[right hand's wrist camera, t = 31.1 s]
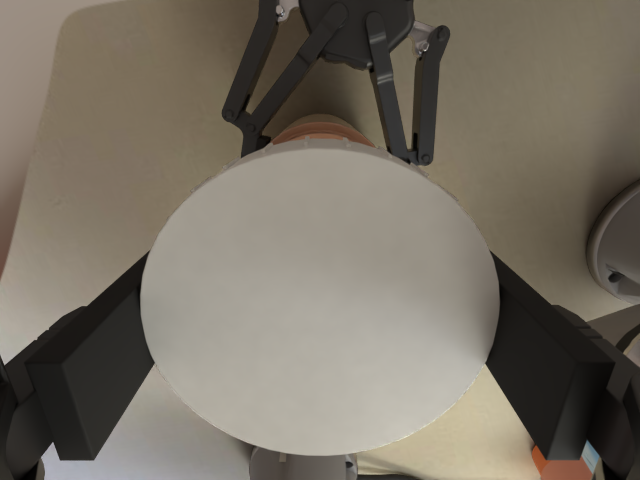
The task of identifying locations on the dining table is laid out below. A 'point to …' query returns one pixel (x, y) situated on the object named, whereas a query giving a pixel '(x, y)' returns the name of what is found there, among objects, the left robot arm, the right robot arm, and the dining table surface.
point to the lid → (319, 298)
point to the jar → (321, 130)
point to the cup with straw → (560, 468)
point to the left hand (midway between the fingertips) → (309, 224)
